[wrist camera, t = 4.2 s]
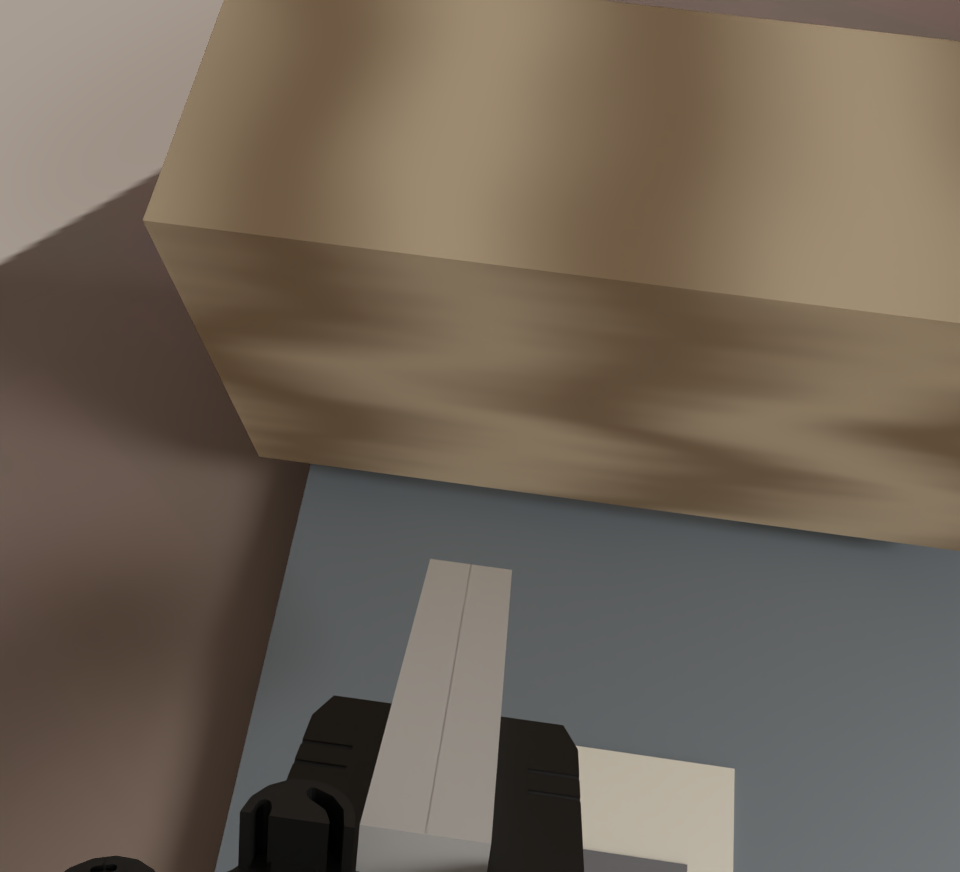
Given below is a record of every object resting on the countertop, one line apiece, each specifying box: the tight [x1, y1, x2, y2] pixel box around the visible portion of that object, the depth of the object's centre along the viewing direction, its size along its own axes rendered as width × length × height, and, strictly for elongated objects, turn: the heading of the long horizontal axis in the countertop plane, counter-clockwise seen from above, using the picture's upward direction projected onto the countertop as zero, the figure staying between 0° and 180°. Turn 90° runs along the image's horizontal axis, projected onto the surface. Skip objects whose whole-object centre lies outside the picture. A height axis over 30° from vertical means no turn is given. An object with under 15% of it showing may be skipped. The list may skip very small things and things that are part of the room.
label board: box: [215, 464, 960, 872], centre depth 22 cm, size 19×22×2 cm
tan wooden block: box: [143, 0, 960, 551], centre depth 19 cm, size 20×6×9 cm, turn 82°
